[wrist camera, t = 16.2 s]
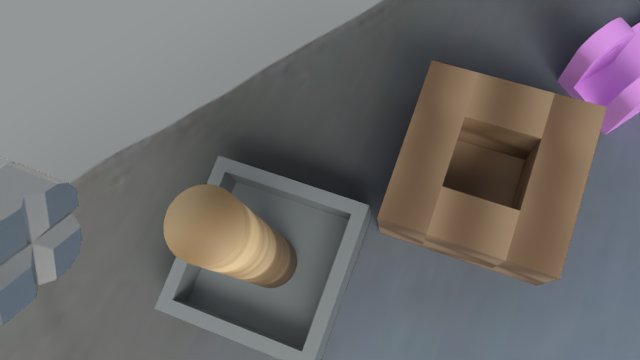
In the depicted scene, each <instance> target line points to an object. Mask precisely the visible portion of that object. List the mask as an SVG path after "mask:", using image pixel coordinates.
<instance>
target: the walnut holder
mask: <svg viewBox="0 0 640 360" xmlns="http://www.w3.org/2000/svg"><path fill="white" fill-rule="evenodd" d="M606 108H607V107H605V106H601V105H597V104H594V103H590V102H586V101H583V100H579V99H575V98H571V97H568V96H564V95H560V94H556V93H553V92H549V91H545V90H541V89H538V88H534V87H530V86H526V85H523V84H519V83H515V82H512V81H508V80H504V79H500V78H497V77H493V76H489V75H485V74H482V73H478V72H474V71H470V70H467V69H463V68H459V67H455V66H452V65H448V64H444V63H441V62H437V61H433V60H432V61H431V64H430V67H429V70H428V73H427V76H426V78H425V81H424V84H423V87H422V90H421V93H420V96H419V99H418V101H417V104H416V107H415V110H414V113H413V116H412V119H411V122H410V124H409V127H408V130H407V133H406V136H405V139H404V142H403V145H402V147H401V150H400V153H399V156H398V159H397V162H396V165H395V168H394V171H393V173H392V176H391V179H390V182H389V185H388V188H387V191H386V194H385V196H384V199H383V202H382V205H381V208H380V211H379V214H378V217H377V220H378V225H379V231H380V232H381V233H384V234H387V235H390V236H393V237H395V238H398V239H401V240H404V241H407V242H410V243H413V244H416V245H419V246H422V247H425V248H428V249H431V250H434V251H437V252H440V253H443V254H445V255H448V256H451V257H454V258H457V259H460V260H463V261H466V262H469V263H472V264H475V265H478V266H481V267H484V268H487V269H490V270H493V271H495V272H498V273H501V274H504V275H507V276H510V277H513V278H516V279H519V280H522V281H525V282H528V283H531V284H534V285H540V284H544V283H547V282H550V281H554V280H557V279H560V277H561V273H562V270H563V266H564V262H565V259H566V255H567V251H568V248H569V244H570V240H571V237H572V233H573V229H574V226H575V222H576V218H577V215H578V211H579V207H580V204H581V200H582V196H583V193H584V189H585V185H586V182H587V178H588V174H589V171H590V167H591V163H592V160H593V156H594V152H595V149H596V145H597V141H598V138H599V134H600V130H601V127H602V123H603V119H604V116H605V112H606Z"/></svg>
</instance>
